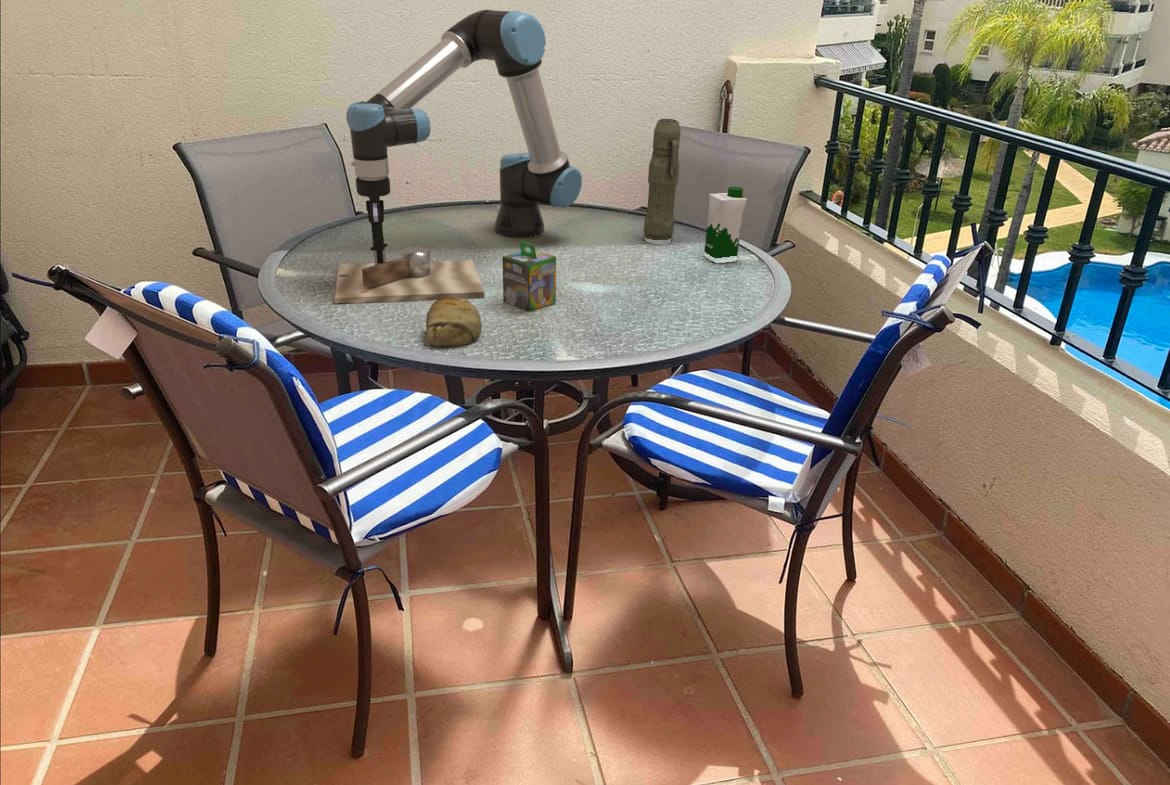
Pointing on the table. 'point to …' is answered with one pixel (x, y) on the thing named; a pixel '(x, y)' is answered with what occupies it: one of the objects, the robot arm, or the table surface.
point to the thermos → (662, 180)
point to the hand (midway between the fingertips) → (381, 274)
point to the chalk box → (529, 278)
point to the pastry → (452, 322)
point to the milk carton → (724, 223)
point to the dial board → (411, 284)
